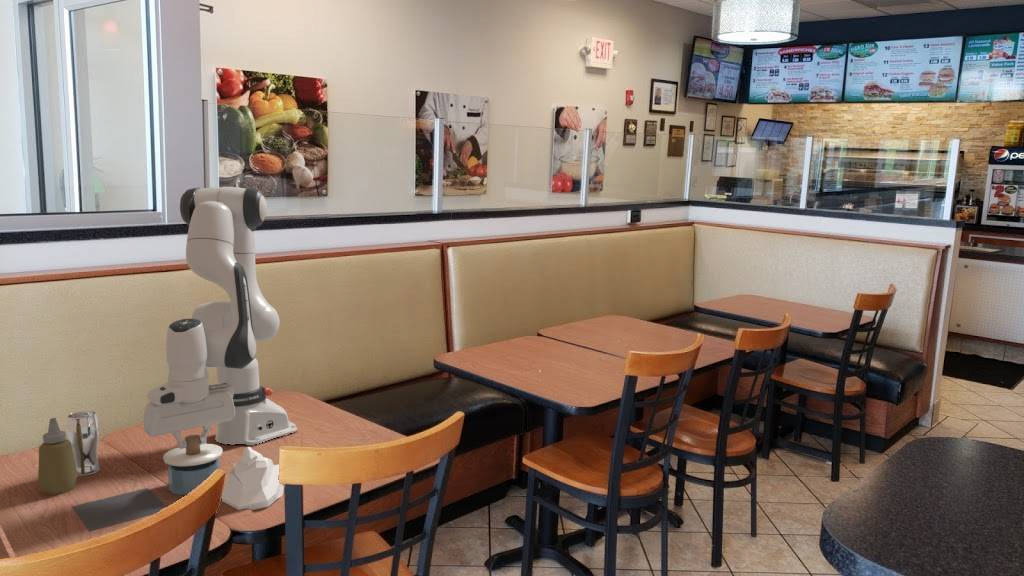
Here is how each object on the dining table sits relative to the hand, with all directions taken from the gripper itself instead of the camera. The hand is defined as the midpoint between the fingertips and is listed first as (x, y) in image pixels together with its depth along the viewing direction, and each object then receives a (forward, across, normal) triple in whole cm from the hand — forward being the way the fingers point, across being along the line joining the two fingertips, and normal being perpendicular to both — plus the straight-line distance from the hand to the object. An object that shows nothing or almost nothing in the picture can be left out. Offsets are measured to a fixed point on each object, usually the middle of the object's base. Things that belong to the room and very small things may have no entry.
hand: (192, 445), depth 185 cm
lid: (+3, 0, 0) cm, 3 cm away
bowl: (+11, 0, 0) cm, 11 cm away
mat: (+11, +17, +2) cm, 20 cm away
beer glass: (+11, +17, -29) cm, 35 cm away
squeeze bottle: (+11, +25, -19) cm, 33 cm away
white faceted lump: (+11, -8, +16) cm, 21 cm away
